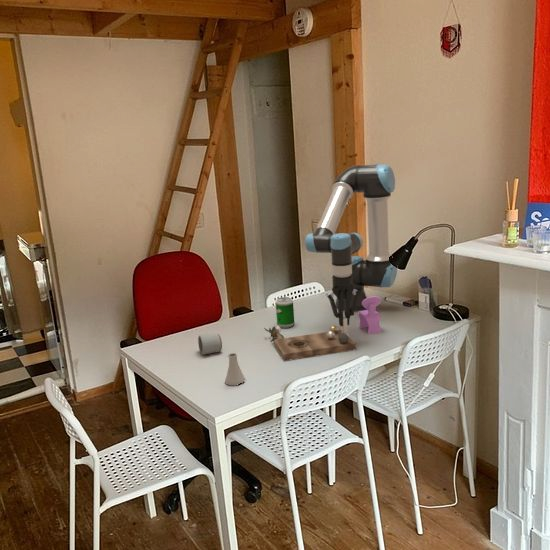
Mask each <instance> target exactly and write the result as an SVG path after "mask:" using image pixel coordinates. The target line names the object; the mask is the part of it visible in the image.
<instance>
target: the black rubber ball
mask: <svg viewBox="0 0 550 550" xmlns="http://www.w3.org/2000/svg"><path fill="white" fill-rule="evenodd" d="M348 337H349V335H348V334H345V333H342V334H340V335H339V337H338V339H339V341H340V342H341V343H346V342H347V341H348Z"/></svg>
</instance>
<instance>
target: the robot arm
mask: <svg viewBox="0 0 550 550" xmlns="http://www.w3.org/2000/svg"><path fill="white" fill-rule="evenodd" d="M395 190H396V178H395V173H394V171H393V168H392V167H391V166H390V165H388V164H365V165H364V164H363V165H360V164H359V165H358V164H357V165H353V166H350V167H348V168H346V169H344V170H343V172H341V173H340V174H339V175H338V176H337V178H336V179H335V180H334V182H333V184H332V187H331V195H330V196H329V199H328V202H327V204H326V205H325V209H324V211H323V213H322V216H321V218H320V220H319V222H318V225H317V228H316V230H315V231H314V232H312V233H308V234H306V236H305V241H304V247H305V249H306V250H307V251H308V252H310V253H317V254H318V253H321V254H322V253H323V254H324V253H326V254H328V253H329V254H330V255H331V274H332V288H331V291H330V292H329V293H326V295H325V296H326V298H328V300H329V304H330V307H331V310H332V311H331V312H332V313H333V316H334V317H335V318H337V319H338V326H340V328H341V330H342V333H345V334H347V335H348V334H349V333H348V326H349V325H350V318H351V317H352V316H354V315H355V312H359V311H364V310H367V309H366V308H364V307H363V306H362V301H363V300H364V299H366V298H368V297H367V294H366V291H365V287H375V288H390V287H392V286H394V283H395V282H396V278H397V274H398V267H397V268H396V267H394V266H393V265H392V264H391V263H390V262H389V257H390V256H392V255H391V254H390V252H389V251H390V250H389V249H390V247H389V245H390V243H389V222H388V221H389V218H388V217H389V215H388V212H389V211H388V200H389V198H390V197H392V195H391V193H393V192H394V191H395ZM356 193H361V194H362V195H363V198H364V200H366V205H367V209H366V210H367V227H368V229H367V231H368V255H367V256H366V257H365V260H364V257H363V255H361V256H360V255H354V254H356V253H357V252H359V251H360V249H361V248H362V247H363V245H364V239H363V237H362V235H360V234H359V233H357V232H349V233H346V232H342V233H336V231H337V229H338V227H339V223H340V221H341V218H342V216H343V214H344V211H345V209H346V207H347V205H348V202H349V200H350V199H351V198H352V197H353V196H354V194H356ZM334 295H335V296H334ZM335 297H336V299H334V298H335Z"/></svg>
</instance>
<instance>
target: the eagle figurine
mask: <svg viewBox="0 0 550 550" xmlns="http://www.w3.org/2000/svg"><path fill="white" fill-rule="evenodd" d="M271 327H272V326H271ZM271 327H269V329H267V328H266V327H264V330H265V331H266V332H267V333H270V340H269V342H272V341H274V338H275V340H276V339H283V338H285V337H284V335H283V334H281V331H282V330H281V327H279V326H278V325H275V326H273V327H272V328H271Z"/></svg>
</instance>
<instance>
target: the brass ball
mask: <svg viewBox="0 0 550 550" xmlns="http://www.w3.org/2000/svg"><path fill="white" fill-rule="evenodd" d="M337 330H338V327H337V326H336V325H331V326H330V328H329V331H333V332H334V333H336V332H337Z"/></svg>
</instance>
